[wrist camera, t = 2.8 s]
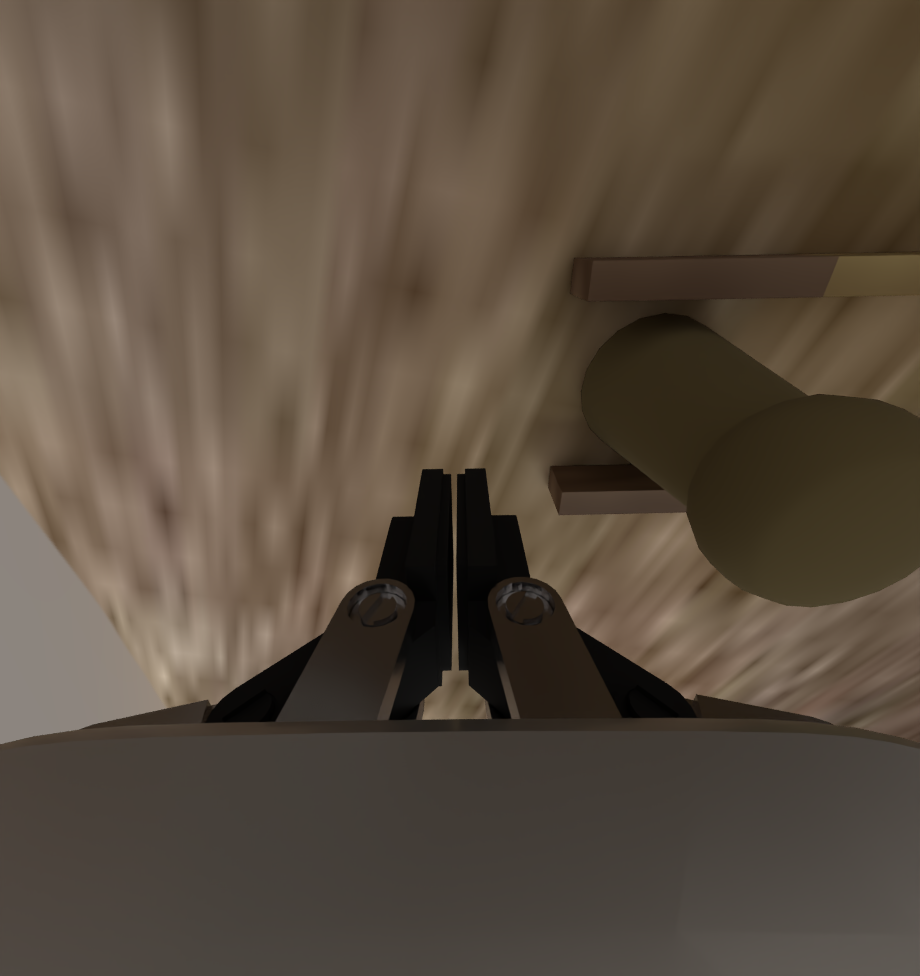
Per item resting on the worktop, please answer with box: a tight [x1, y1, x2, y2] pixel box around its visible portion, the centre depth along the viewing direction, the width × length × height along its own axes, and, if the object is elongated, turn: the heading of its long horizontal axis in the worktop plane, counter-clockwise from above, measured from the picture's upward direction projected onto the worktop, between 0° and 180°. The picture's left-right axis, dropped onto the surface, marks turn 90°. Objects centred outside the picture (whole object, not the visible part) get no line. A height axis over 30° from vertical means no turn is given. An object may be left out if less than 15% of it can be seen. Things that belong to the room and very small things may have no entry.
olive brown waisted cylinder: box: [581, 313, 920, 607], centre depth 13 cm, size 6×6×11 cm
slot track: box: [548, 252, 920, 515], centre depth 17 cm, size 10×25×2 cm, turn 91°
